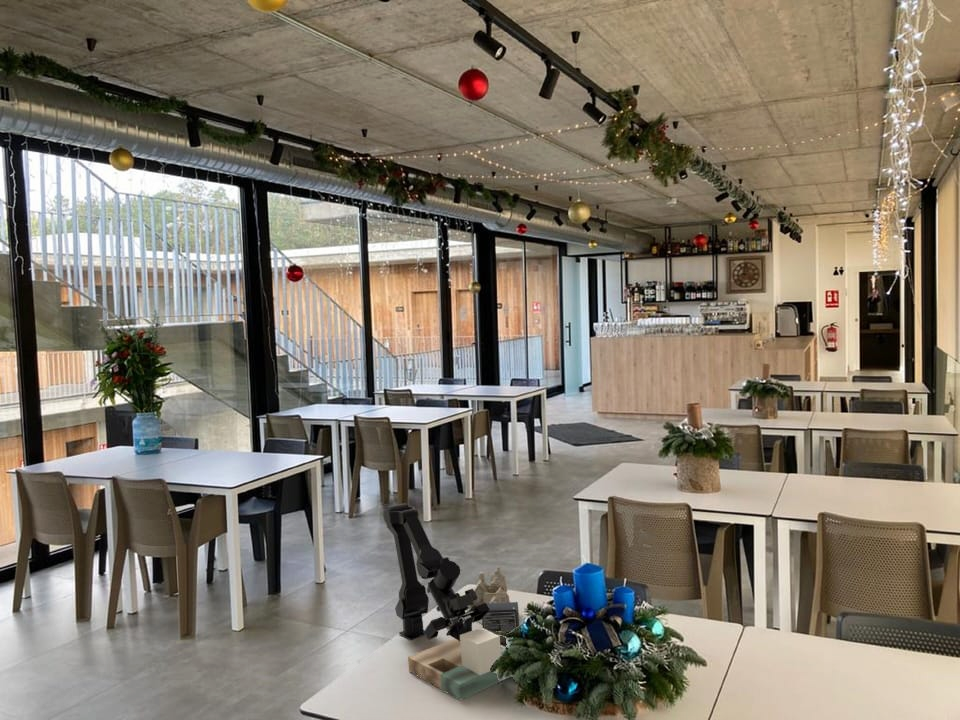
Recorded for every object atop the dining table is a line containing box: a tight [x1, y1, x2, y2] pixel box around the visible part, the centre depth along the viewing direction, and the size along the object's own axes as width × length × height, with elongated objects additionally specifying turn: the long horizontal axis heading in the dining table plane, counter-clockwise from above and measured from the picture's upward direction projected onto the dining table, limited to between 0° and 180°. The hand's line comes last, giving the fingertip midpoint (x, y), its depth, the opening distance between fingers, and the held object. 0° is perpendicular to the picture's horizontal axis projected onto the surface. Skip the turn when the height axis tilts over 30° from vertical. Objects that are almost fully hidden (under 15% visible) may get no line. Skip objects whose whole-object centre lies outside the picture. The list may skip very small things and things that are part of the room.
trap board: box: [407, 638, 507, 701], centre depth 203 cm, size 23×22×4 cm
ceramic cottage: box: [466, 565, 510, 626], centre depth 240 cm, size 16×16×15 cm
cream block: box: [460, 626, 501, 675], centre depth 197 cm, size 8×7×8 cm
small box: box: [481, 601, 520, 646], centre depth 221 cm, size 11×6×10 cm, turn 84°
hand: (473, 648), depth 201 cm, fingers closed, pressing on cream block
